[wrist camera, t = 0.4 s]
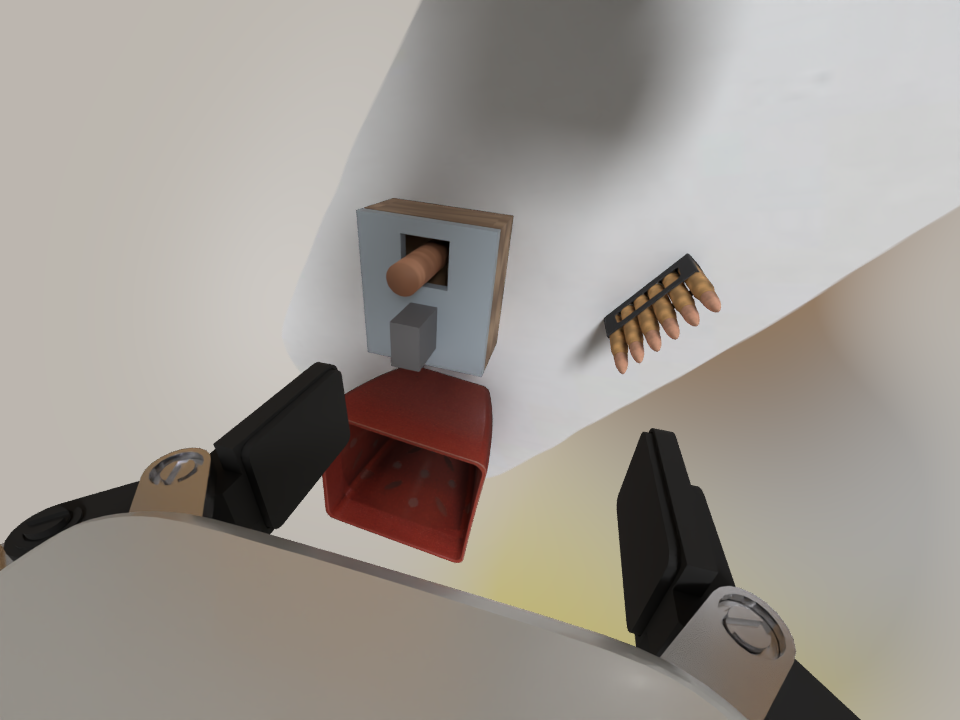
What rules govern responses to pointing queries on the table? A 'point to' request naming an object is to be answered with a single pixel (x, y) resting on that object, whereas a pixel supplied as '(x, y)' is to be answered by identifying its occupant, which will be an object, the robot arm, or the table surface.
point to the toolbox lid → (428, 293)
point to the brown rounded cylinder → (418, 267)
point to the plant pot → (413, 460)
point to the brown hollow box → (441, 276)
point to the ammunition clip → (659, 310)
